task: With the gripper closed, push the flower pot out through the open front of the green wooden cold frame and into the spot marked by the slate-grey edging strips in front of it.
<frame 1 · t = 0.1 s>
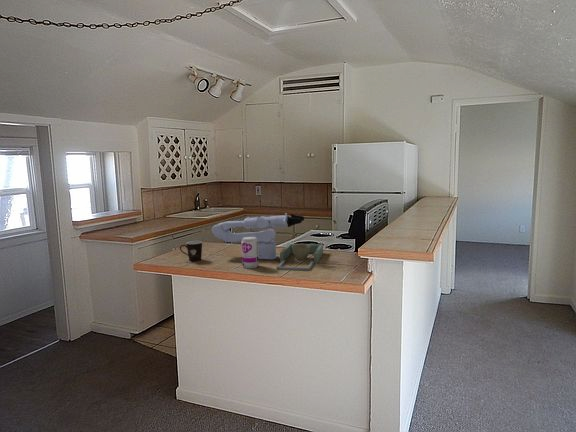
hand: (302, 219, 229), 22 cm above the table, tool horizontal, fingers open, 7 cm apart
coffee mug: (193, 260, 236), on the table
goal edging: (295, 265, 218), on the table
cold frame: (302, 257, 234), on the table
supplement can: (250, 266, 219), on the table
flower pot: (301, 259, 233), on the table
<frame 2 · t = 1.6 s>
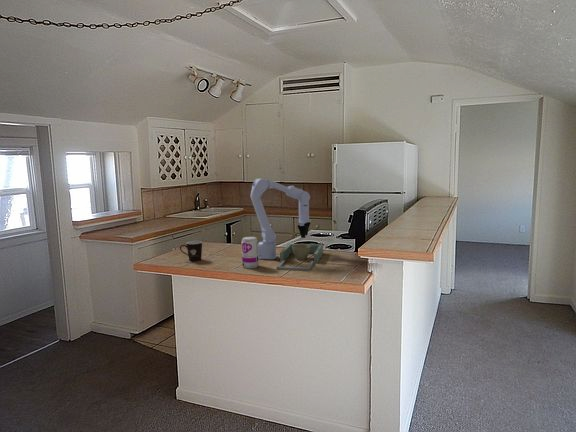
hand: (304, 236, 241), 10 cm above the table, tool pointing down, fingers open, 7 cm apart
nothing on the table moved.
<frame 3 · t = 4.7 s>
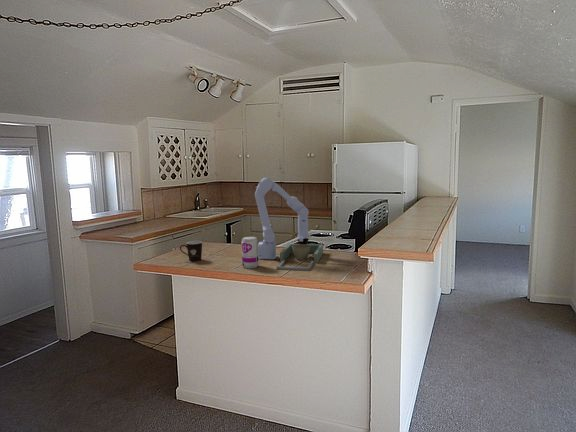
hand: (303, 251, 238), 2 cm above the table, tool pointing down, fingers closed
flower pot: (301, 259, 232), on the table, touching gripper
everything else where it was.
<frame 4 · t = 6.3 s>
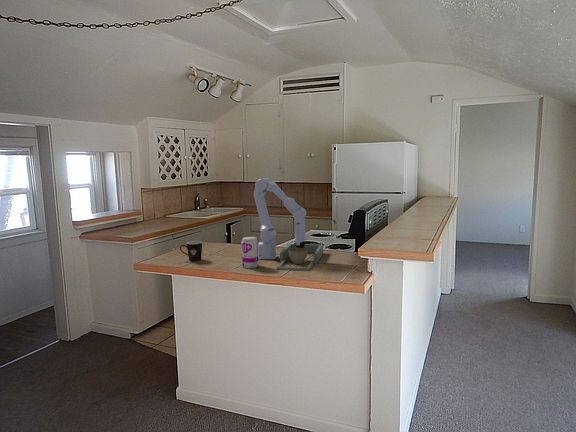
hand: (300, 255, 230), 2 cm above the table, tool pointing down, fingers closed
flower pot: (298, 263, 224), on the table, touching gripper
everything else where it was.
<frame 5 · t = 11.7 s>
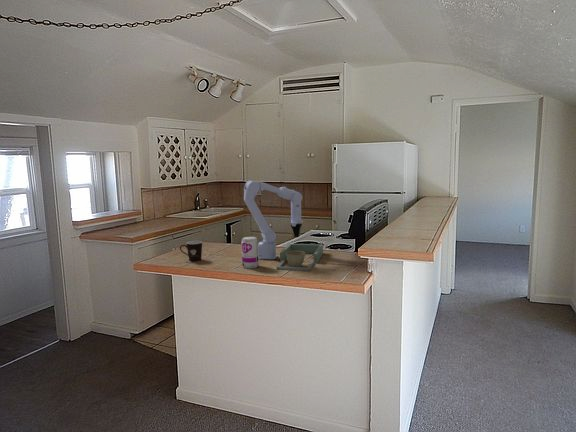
hand: (296, 236, 240), 10 cm above the table, tool pointing down, fingers closed
flower pot: (295, 266, 217), on the table
everything else where it was.
at the end: flower pot inside the target area (0.7 cm from its centre), on the table; flower pot tilted 0° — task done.
